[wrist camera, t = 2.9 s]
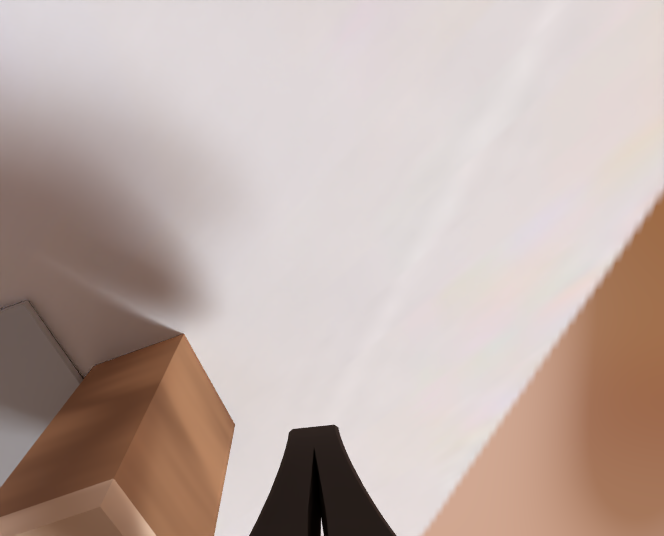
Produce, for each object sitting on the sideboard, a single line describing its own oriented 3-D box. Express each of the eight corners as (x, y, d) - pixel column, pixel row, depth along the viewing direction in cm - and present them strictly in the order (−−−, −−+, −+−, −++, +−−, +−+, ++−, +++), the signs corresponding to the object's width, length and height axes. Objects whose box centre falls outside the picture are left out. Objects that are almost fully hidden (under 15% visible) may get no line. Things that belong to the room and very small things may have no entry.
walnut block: (152, 452, 19) (63, 671, 12) (93, 365, 18) (-55, 559, 10) (235, 424, 19) (196, 628, 12) (184, 333, 17) (99, 507, 10)
